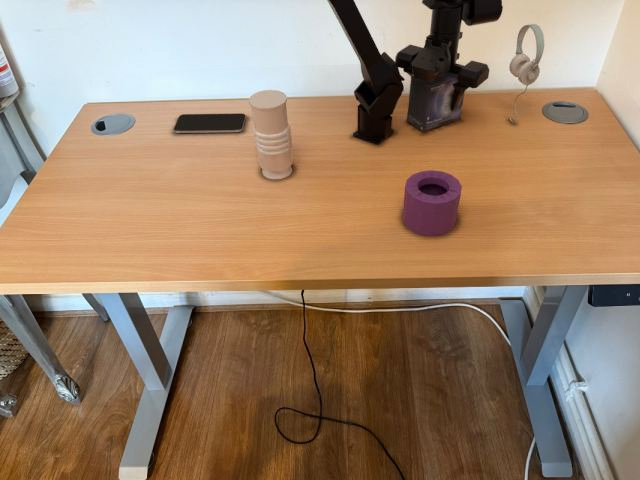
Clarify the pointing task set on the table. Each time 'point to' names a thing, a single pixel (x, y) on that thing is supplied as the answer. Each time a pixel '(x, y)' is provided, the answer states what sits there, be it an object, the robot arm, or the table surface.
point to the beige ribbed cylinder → (272, 133)
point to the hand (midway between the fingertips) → (436, 105)
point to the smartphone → (209, 123)
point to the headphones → (527, 59)
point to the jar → (431, 202)
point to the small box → (432, 102)
